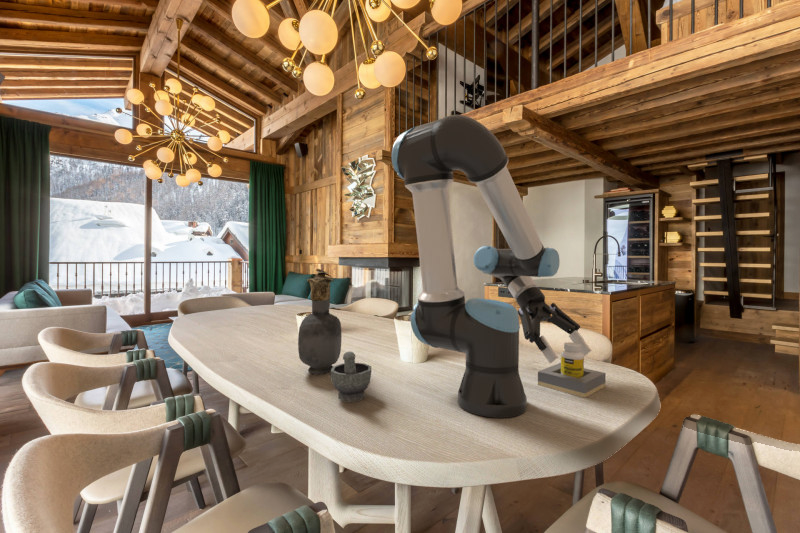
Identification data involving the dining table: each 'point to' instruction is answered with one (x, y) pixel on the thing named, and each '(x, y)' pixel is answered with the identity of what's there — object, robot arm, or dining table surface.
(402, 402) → the dining table surface
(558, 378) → the socket block
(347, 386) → the mortar and pestle
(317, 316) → the dark decorative bottle
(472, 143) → the robot arm
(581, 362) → the supplement bottle
